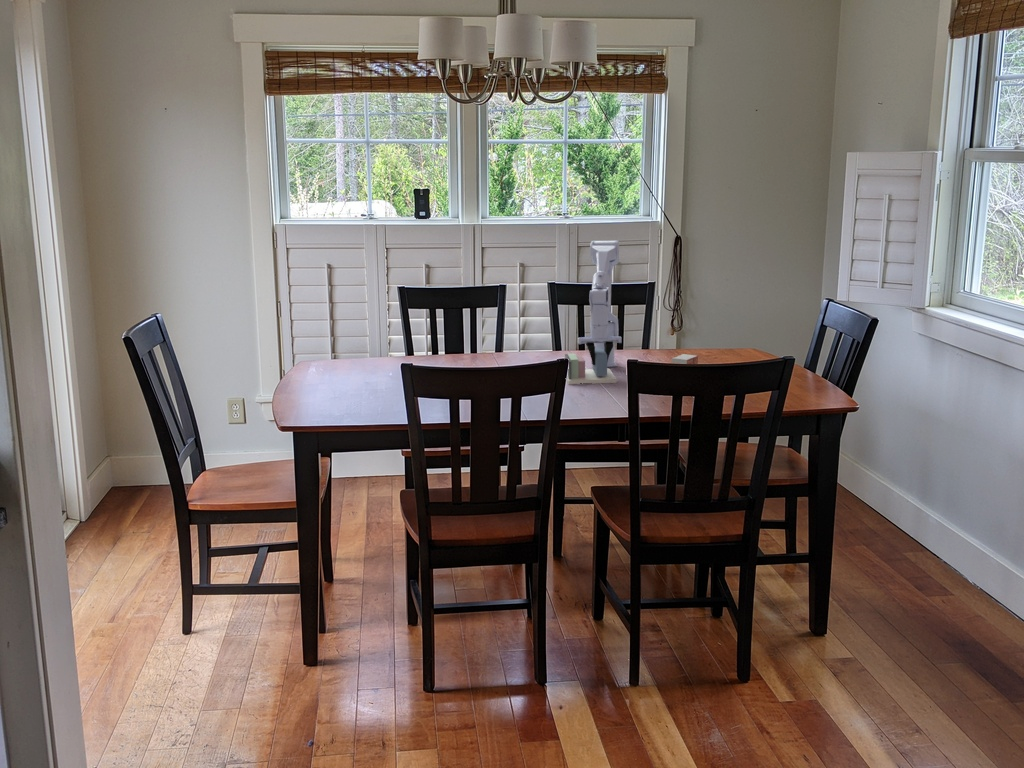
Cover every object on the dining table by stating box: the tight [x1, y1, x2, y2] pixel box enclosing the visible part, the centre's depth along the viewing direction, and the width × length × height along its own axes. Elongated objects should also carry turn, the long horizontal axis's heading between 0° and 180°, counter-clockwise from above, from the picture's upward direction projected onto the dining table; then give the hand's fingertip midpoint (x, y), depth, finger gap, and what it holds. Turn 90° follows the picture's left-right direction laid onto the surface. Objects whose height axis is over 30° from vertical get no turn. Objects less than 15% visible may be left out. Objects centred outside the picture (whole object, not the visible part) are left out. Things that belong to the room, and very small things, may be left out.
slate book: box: [592, 349, 608, 376], centre depth 331 cm, size 10×4×7 cm, turn 3°
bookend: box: [564, 353, 571, 379], centre depth 331 cm, size 12×1×6 cm, turn 3°
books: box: [566, 352, 586, 379], centre depth 331 cm, size 10×5×6 cm, turn 3°
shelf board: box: [566, 367, 618, 385], centre depth 332 cm, size 16×16×1 cm
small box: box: [670, 353, 699, 365], centre depth 314 cm, size 8×6×10 cm
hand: (599, 364), depth 332 cm, fingers closed on slate book, 3 cm apart
